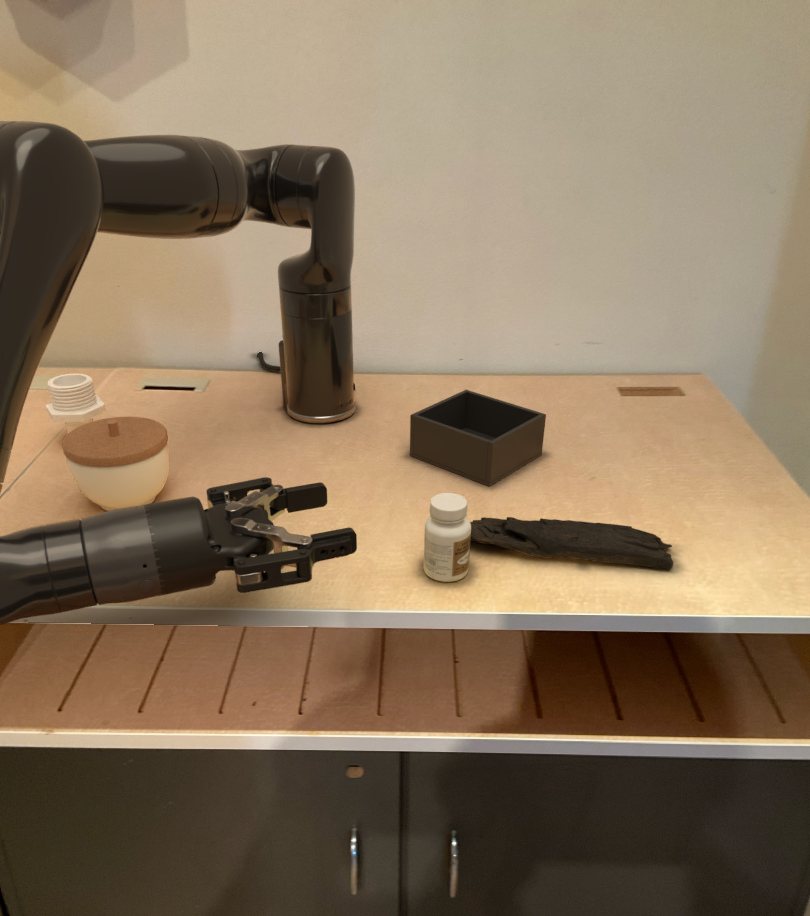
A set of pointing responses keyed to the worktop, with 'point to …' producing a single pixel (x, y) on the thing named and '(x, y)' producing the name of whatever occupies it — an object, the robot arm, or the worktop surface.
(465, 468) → the open box
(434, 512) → the pill bottle
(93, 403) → the pipe fitting
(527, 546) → the wood
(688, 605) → the worktop surface
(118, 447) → the trinket box
